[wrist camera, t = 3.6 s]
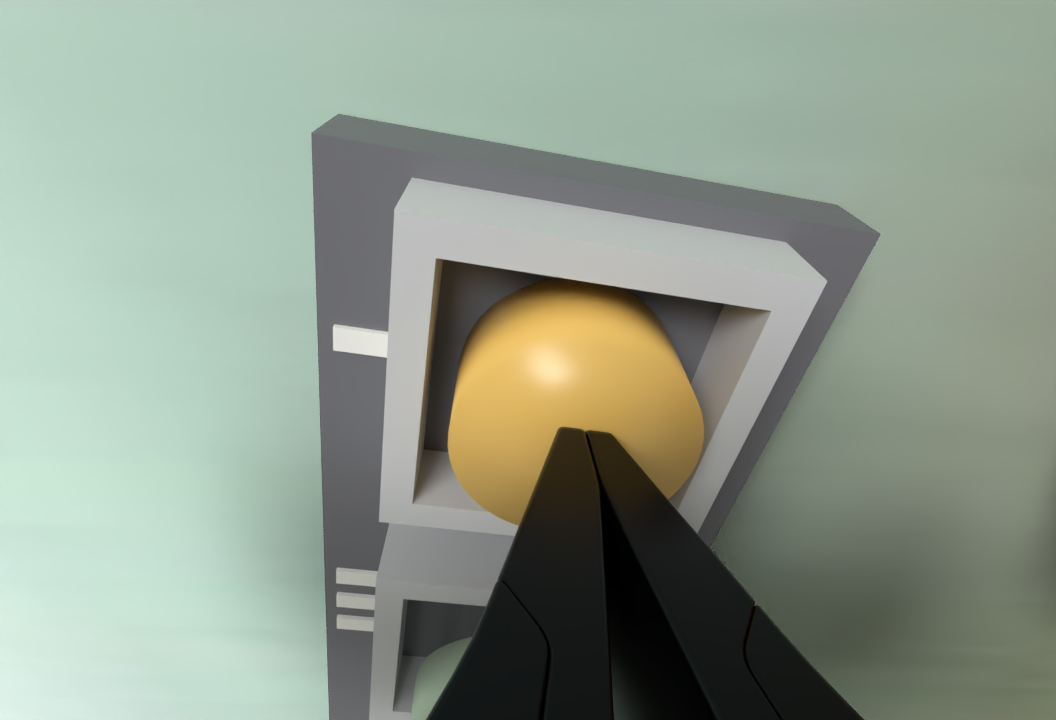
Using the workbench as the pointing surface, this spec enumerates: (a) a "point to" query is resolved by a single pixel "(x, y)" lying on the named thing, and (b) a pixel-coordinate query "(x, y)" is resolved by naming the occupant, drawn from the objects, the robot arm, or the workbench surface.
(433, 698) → the button sage
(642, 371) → the button amber
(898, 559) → the workbench surface
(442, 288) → the control board
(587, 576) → the robot arm
